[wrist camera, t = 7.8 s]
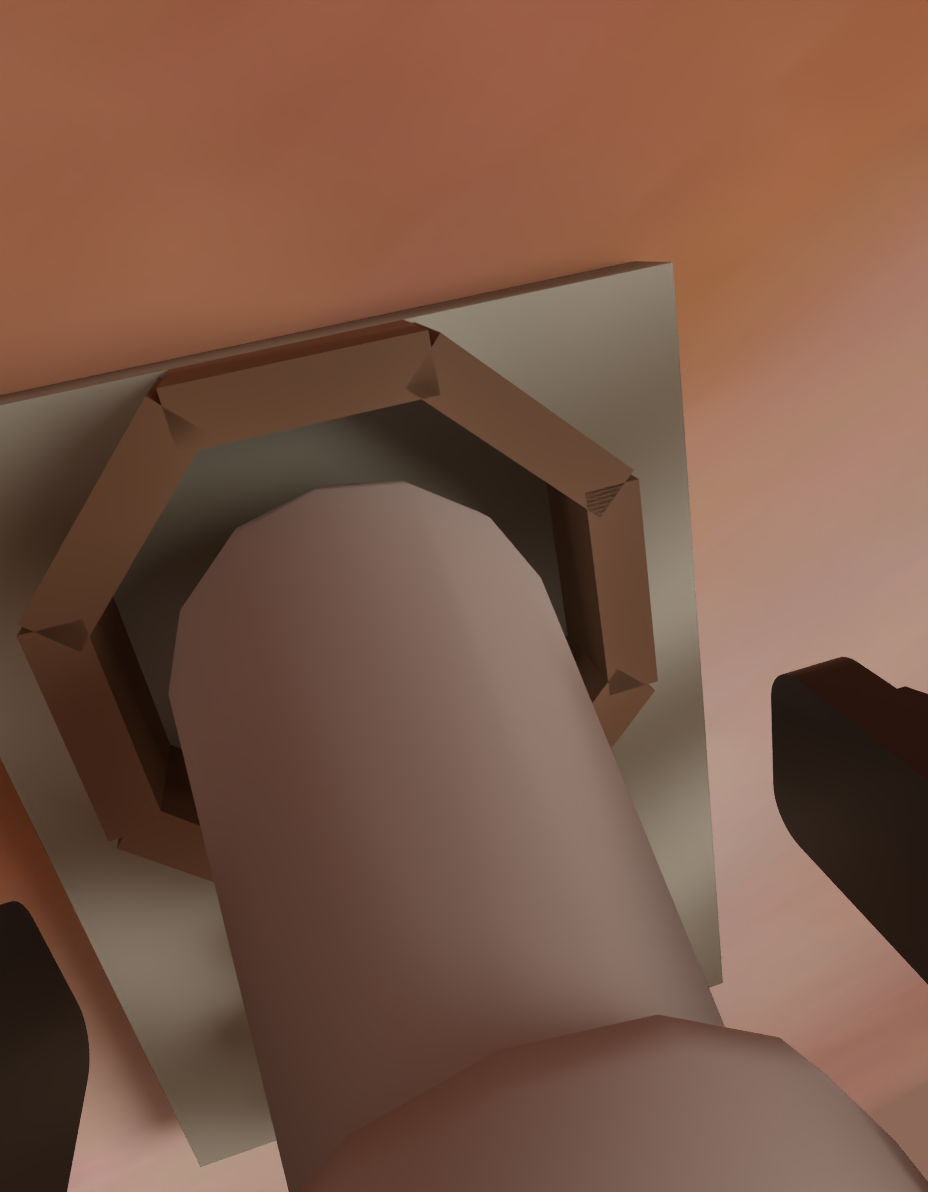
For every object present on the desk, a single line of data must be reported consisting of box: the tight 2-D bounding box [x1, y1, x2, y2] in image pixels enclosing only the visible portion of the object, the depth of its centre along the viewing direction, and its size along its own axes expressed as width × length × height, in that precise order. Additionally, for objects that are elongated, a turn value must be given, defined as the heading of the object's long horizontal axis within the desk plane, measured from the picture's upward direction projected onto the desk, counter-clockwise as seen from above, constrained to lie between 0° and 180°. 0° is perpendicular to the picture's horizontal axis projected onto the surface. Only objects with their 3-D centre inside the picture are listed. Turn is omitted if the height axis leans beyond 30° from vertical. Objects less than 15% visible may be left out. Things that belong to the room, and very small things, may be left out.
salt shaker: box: [168, 480, 928, 1192], centre depth 9 cm, size 6×6×13 cm
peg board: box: [0, 261, 723, 1167], centre depth 15 cm, size 17×13×6 cm
